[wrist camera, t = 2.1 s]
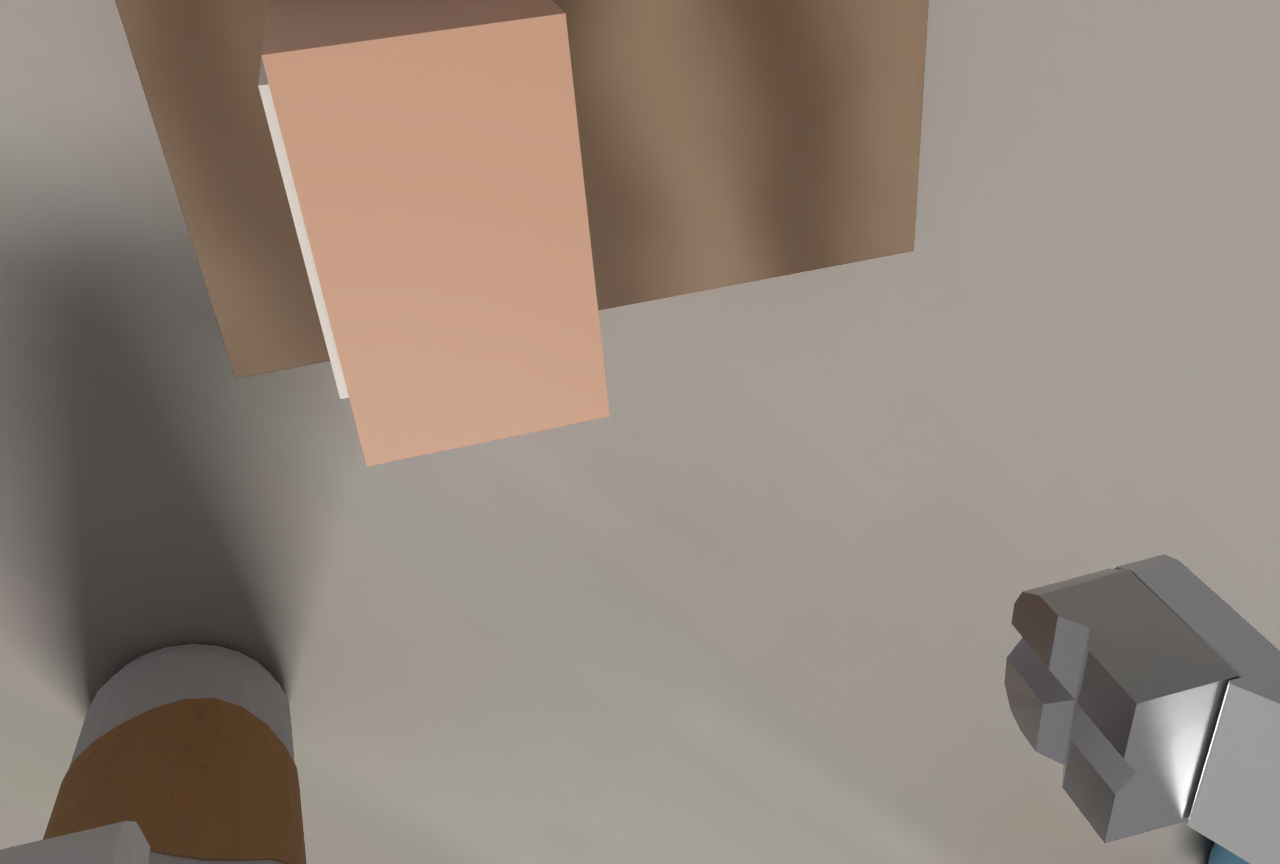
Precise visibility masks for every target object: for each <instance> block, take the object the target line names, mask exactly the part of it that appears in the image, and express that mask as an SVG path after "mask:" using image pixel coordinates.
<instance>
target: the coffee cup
mask: <svg viewBox="0 0 1280 864" xmlns="http://www.w3.org/2000/svg"><path fill="white" fill-rule="evenodd" d="M123 821H134V822H137V824H138V826H139V828H140V829H141V831H142V833H143V835H144V836H145V838H146V840H147V842H148V844H149V845H150V852H149V860H148V864H306V854H305V843H304V832H303V821H302V810H301V799H300V788H299V781H298V773H297V767H296V765H295V762H294V751H293V739H292V727H291V717H290V709H289V702H288V699H287V697H286V695H285V694H284V692H283V690H282V688H281V686H280V684H279V683H278V682H277V681H276V680H275V679H274V678H273V677H272V675H271V674H270V673H269V672H268V671H267V670H266V669H265V668H264V667H263V666H262V665H261V664H260V663H258V662H257V661H256V660H254V659H252V658H250V657H248V656H246V655H244V654H242V653H241V652H239V651H235V650H231V649H228V648H224V647H220V646H217V645H202V644H187V645H178V646H170V647H165V648H162V649H159V650H156V651H153V652H150V653H147V654H144V655H142V656H141V657H139V658H137V659H135V660H134V661H132V662H130V663H129V664H127V665H125V666H124V667H123V668H122V669H121V670H120V671H119V672H118V673H116V674H115V675H114V676H113V677H111V678H110V679H109V680H108V681H107V682H106V683H105V684H104V685H103V686H102V687H101V688H100V689H99V690H98V692H97V694H96V696H95V697H94V699H93V701H92V703H91V705H90V707H89V709H88V712H87V715H86V718H85V721H84V724H83V727H82V730H81V733H80V736H79V739H78V743H77V746H76V749H75V752H74V755H73V758H72V761H71V764H70V767H69V770H68V772H67V773H66V775H65V777H64V779H63V781H62V784H61V787H60V790H59V793H58V796H57V799H56V802H55V805H54V808H53V811H52V814H51V817H50V820H49V823H48V826H47V829H46V832H45V835H44V838H43V840H45V839H49V838H54V837H58V836H62V835H67V834H71V833H75V832H80V831H84V830H88V829H93V828H97V827H101V826H106V825H110V824H114V823H119V822H123Z"/></svg>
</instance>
